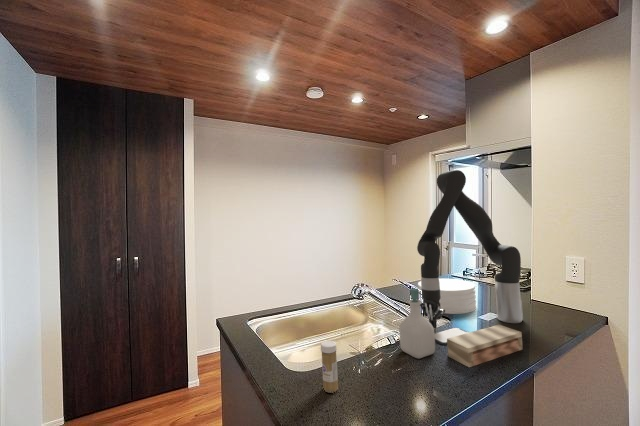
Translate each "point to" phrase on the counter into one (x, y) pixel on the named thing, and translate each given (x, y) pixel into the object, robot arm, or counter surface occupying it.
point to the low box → (484, 345)
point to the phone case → (448, 335)
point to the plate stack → (456, 296)
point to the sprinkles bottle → (329, 366)
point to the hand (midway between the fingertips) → (433, 328)
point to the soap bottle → (416, 331)
